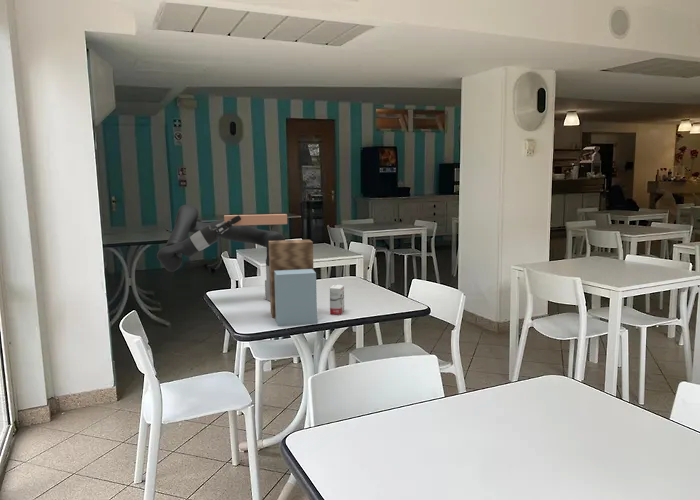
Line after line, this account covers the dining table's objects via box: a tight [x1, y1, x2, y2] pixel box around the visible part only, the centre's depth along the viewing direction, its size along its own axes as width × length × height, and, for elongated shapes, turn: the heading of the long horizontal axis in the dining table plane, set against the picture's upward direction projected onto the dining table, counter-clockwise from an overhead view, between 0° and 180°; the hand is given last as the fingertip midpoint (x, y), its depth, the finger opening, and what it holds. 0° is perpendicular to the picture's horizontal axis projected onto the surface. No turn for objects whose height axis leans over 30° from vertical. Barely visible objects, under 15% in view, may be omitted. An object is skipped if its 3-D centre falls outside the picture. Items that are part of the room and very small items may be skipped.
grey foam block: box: [274, 268, 318, 327], centre depth 227 cm, size 16×10×21 cm, turn 103°
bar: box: [223, 213, 288, 226], centre depth 232 cm, size 26×4×4 cm, turn 103°
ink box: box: [329, 284, 345, 316], centre depth 242 cm, size 9×5×12 cm, turn 168°
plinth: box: [269, 239, 314, 319], centre depth 239 cm, size 18×10×32 cm, turn 103°
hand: (239, 216), depth 230 cm, fingers closed on bar, 4 cm apart
